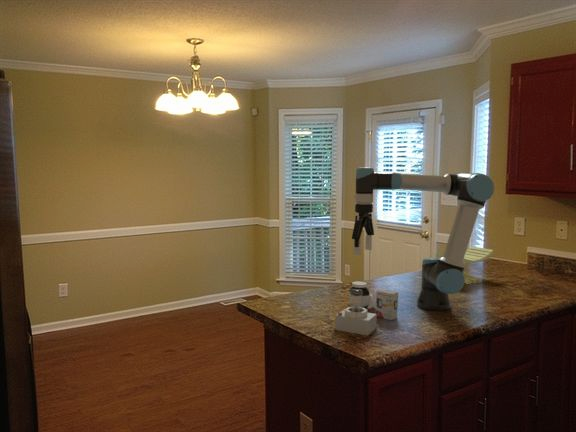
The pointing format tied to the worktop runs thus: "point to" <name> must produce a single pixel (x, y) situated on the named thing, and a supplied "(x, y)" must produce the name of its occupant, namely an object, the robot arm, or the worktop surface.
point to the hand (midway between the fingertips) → (362, 252)
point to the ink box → (386, 304)
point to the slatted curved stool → (472, 260)
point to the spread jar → (366, 296)
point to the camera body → (355, 321)
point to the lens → (356, 300)
